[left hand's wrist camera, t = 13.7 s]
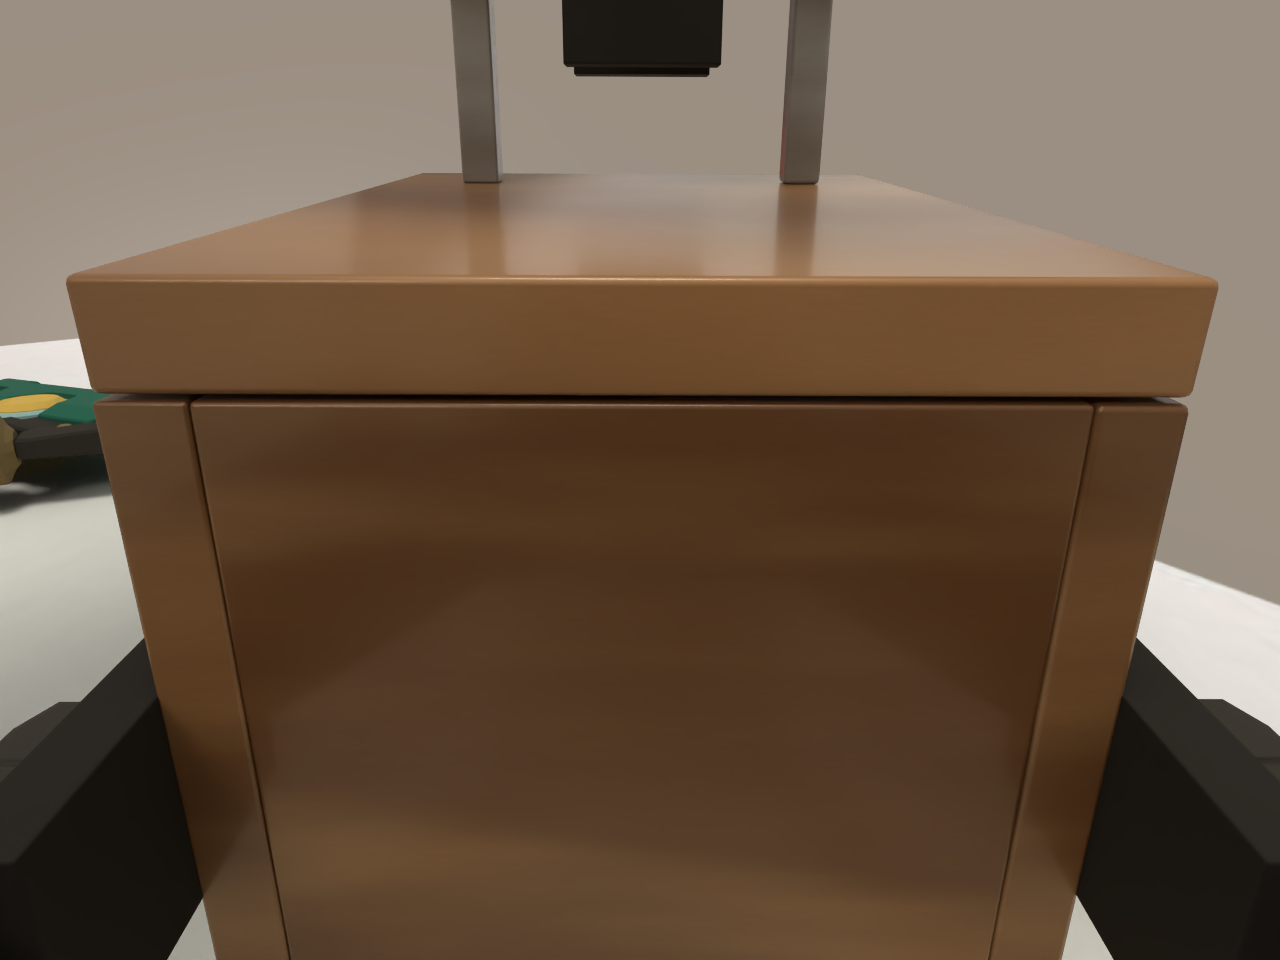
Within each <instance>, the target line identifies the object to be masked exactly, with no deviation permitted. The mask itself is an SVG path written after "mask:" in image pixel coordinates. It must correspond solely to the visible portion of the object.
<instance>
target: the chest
mask: <svg viewBox="0 0 1280 960" xmlns="http://www.w3.org/2000/svg"><path fill="white" fill-rule="evenodd" d="M93 410H94V414H95V419H96V423H97V428H98V432H99V437H100V441H101V446H102V450H103V455H104V459H105V463H106V468H107V472H108V477H109V481H110V486H111V490H112V495H113V499H114V504H115V508H116V513H117V517H118V522H119V526H120V531H121V535H122V540H123V544H124V548H125V553H126V557H127V562H128V566H129V571H130V575H131V580H132V584H133V589H134V593H135V598H136V602H137V607H138V611H139V616H140V620H141V625H142V629H143V633H144V638H145V642H146V647H147V651H148V656H149V660H150V665H151V669H152V674H153V678H154V683H155V687H156V692H157V696H158V699H159V703H160V708H161V712H162V717H163V721H164V725H165V730H166V734H167V739H168V743H169V747H170V752H171V756H172V761H173V765H174V770H175V774H176V778H177V783H178V787H179V792H180V796H181V800H182V805H183V809H184V814H185V818H186V822H187V827H188V831H189V836H190V840H191V845H192V849H193V853H194V858H195V862H196V867H197V871H198V875H199V880H200V884H201V889H202V893H203V902H204V906H205V911H206V915H207V920H208V924H209V929H210V933H211V938H212V942H213V947H214V951H215V956H216V960H1061V959H1062V955H1063V950H1064V946H1065V942H1066V938H1067V933H1068V929H1069V925H1070V920H1071V916H1072V912H1073V907H1074V903H1075V899H1076V895H1077V890H1078V886H1079V882H1080V877H1081V873H1082V869H1083V864H1084V860H1085V856H1086V851H1087V847H1088V843H1089V839H1090V834H1091V830H1092V826H1093V821H1094V817H1095V813H1096V808H1097V804H1098V800H1099V795H1100V791H1101V787H1102V782H1103V778H1104V773H1105V769H1106V765H1107V760H1108V756H1109V752H1110V747H1111V743H1112V738H1113V734H1114V730H1115V725H1116V721H1117V717H1118V712H1119V708H1120V704H1121V699H1122V696H1123V692H1124V688H1125V684H1126V679H1127V675H1128V671H1129V666H1130V662H1131V658H1132V653H1133V649H1134V645H1135V641H1136V636H1137V632H1138V628H1139V623H1140V619H1141V615H1142V610H1143V606H1144V602H1145V598H1146V593H1147V589H1148V585H1149V580H1150V576H1151V572H1152V567H1153V563H1154V559H1155V554H1156V550H1157V546H1158V542H1159V537H1160V533H1161V528H1162V524H1163V520H1164V516H1165V511H1166V507H1167V503H1168V498H1169V494H1170V490H1171V486H1172V481H1173V477H1174V473H1175V468H1176V464H1177V460H1178V455H1179V451H1180V447H1181V443H1182V438H1183V434H1184V430H1185V425H1186V421H1187V417H1188V409H1187V407H1186V406H1185V405H1183V404H1181V403H1179V402H1177V401H1175V400H1172V399H1170V398H1168V397H911V396H621V395H332V394H110V395H108V396H106V397H104V398H102V399H100V400H98V401H96V402H94V403H93Z"/></svg>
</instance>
